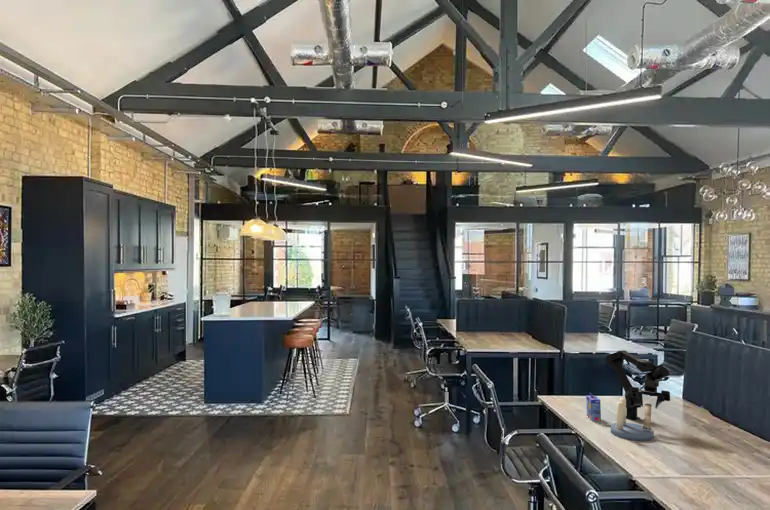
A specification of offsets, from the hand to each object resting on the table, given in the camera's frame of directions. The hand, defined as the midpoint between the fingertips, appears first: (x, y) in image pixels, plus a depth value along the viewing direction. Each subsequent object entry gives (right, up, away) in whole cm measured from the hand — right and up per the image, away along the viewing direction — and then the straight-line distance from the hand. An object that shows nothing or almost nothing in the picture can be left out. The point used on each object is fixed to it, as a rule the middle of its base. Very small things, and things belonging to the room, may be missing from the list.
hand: (649, 407), depth 270 cm
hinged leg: (-6, -8, -9) cm, 13 cm away
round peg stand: (-12, -12, -5) cm, 18 cm away
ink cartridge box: (-21, -13, +22) cm, 33 cm away
